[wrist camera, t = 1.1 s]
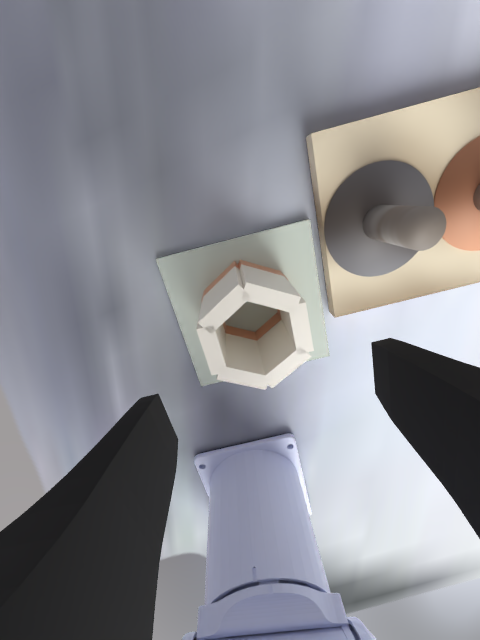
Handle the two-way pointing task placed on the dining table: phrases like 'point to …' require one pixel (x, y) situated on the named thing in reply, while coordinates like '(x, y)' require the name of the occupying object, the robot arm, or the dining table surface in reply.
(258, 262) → the mat
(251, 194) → the dining table surface
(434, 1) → the dining table surface
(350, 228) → the pin board
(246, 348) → the sleeve
